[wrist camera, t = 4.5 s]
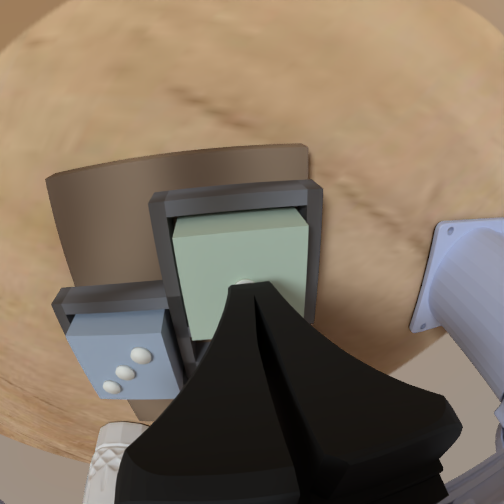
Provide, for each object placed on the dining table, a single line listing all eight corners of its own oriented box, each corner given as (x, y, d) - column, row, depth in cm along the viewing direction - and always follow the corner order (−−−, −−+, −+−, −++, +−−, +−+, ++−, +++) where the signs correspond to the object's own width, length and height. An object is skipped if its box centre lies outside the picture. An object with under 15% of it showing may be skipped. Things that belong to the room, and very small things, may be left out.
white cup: (171, 463, 24) (173, 551, 15) (93, 445, 22) (81, 534, 13) (191, 429, 21) (197, 543, 12) (94, 406, 19) (73, 522, 10)
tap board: (304, 143, 12) (323, 152, 10) (293, 397, 20) (300, 424, 18) (41, 176, 11) (14, 192, 9) (130, 410, 19) (126, 436, 17)
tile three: (166, 296, 14) (160, 336, 11) (183, 362, 16) (182, 401, 13) (81, 302, 13) (64, 339, 11) (108, 364, 15) (99, 401, 13)
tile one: (290, 202, 12) (310, 227, 10) (289, 293, 14) (304, 331, 12) (179, 211, 12) (171, 240, 10) (193, 304, 14) (192, 344, 12)
